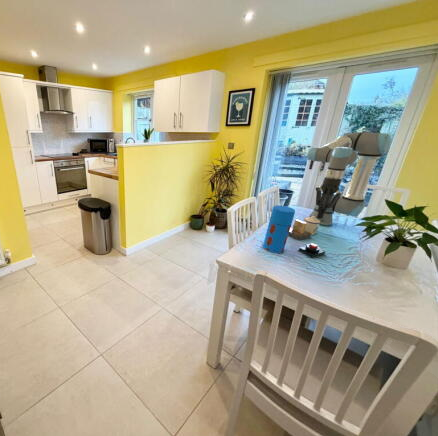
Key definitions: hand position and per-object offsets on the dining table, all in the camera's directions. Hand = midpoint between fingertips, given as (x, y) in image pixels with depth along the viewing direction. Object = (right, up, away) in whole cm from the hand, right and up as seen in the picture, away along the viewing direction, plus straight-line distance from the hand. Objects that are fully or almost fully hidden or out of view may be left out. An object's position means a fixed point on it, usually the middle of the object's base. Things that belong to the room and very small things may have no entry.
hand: (319, 218), depth 130 cm
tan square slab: (+1, -9, +19) cm, 21 cm away
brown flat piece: (0, -12, +20) cm, 23 cm away
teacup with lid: (+13, -9, +27) cm, 31 cm away
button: (-5, -17, -2) cm, 18 cm away
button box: (-5, -20, 0) cm, 21 cm away
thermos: (-25, -18, +4) cm, 31 cm away
